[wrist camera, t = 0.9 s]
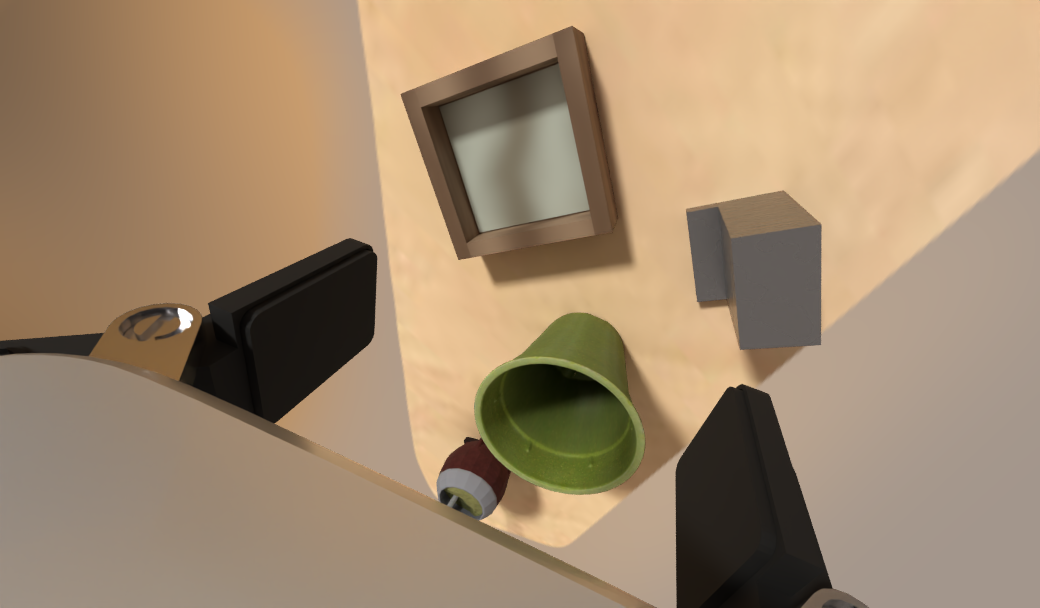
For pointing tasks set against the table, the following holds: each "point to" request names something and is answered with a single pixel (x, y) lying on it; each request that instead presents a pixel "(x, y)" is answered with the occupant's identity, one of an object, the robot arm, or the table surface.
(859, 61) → the table surface
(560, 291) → the table surface
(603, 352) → the plant pot
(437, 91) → the square wooden tray
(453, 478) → the mate gourd
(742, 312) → the grey block
